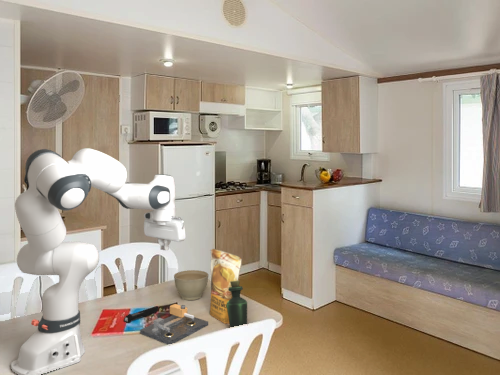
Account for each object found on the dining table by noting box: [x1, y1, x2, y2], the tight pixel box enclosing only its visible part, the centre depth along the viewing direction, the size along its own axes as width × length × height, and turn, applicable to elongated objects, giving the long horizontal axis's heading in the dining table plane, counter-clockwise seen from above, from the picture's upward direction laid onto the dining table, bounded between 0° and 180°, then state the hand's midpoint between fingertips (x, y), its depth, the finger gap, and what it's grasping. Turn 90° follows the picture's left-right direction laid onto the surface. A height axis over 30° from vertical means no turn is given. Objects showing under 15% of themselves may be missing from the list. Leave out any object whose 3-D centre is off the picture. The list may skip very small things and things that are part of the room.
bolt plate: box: [139, 312, 209, 346], centre depth 161 cm, size 21×16×6 cm
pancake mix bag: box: [209, 248, 243, 325], centre depth 171 cm, size 7×19×28 cm, turn 38°
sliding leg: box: [169, 303, 195, 322], centre depth 166 cm, size 3×12×5 cm, turn 55°
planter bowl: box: [173, 269, 209, 301], centre depth 195 cm, size 16×16×11 cm
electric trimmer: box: [123, 305, 159, 324], centre depth 172 cm, size 4×16×3 cm, turn 137°
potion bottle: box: [226, 280, 248, 328], centre depth 161 cm, size 8×8×18 cm
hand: (164, 249), depth 163 cm, fingers closed
